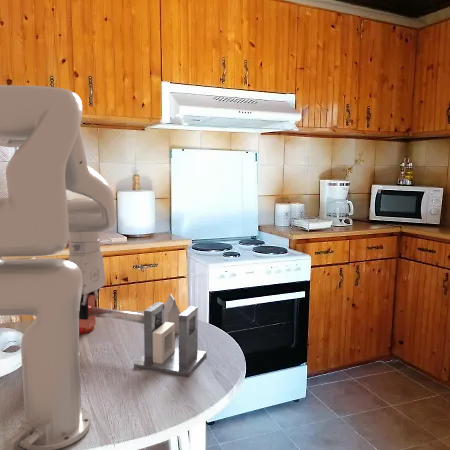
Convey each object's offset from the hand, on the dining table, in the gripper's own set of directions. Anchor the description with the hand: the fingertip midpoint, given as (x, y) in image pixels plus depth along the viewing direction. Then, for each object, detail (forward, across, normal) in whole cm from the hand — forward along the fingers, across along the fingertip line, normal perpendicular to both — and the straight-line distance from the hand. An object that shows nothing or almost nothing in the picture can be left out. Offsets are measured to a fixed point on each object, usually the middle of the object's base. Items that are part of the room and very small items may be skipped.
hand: (86, 315), depth 111 cm
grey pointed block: (+9, +19, -16) cm, 26 cm away
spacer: (+4, 0, -22) cm, 22 cm away
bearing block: (+9, 0, -24) cm, 26 cm away
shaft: (+3, 0, -9) cm, 9 cm away
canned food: (+9, +10, +10) cm, 16 cm away
